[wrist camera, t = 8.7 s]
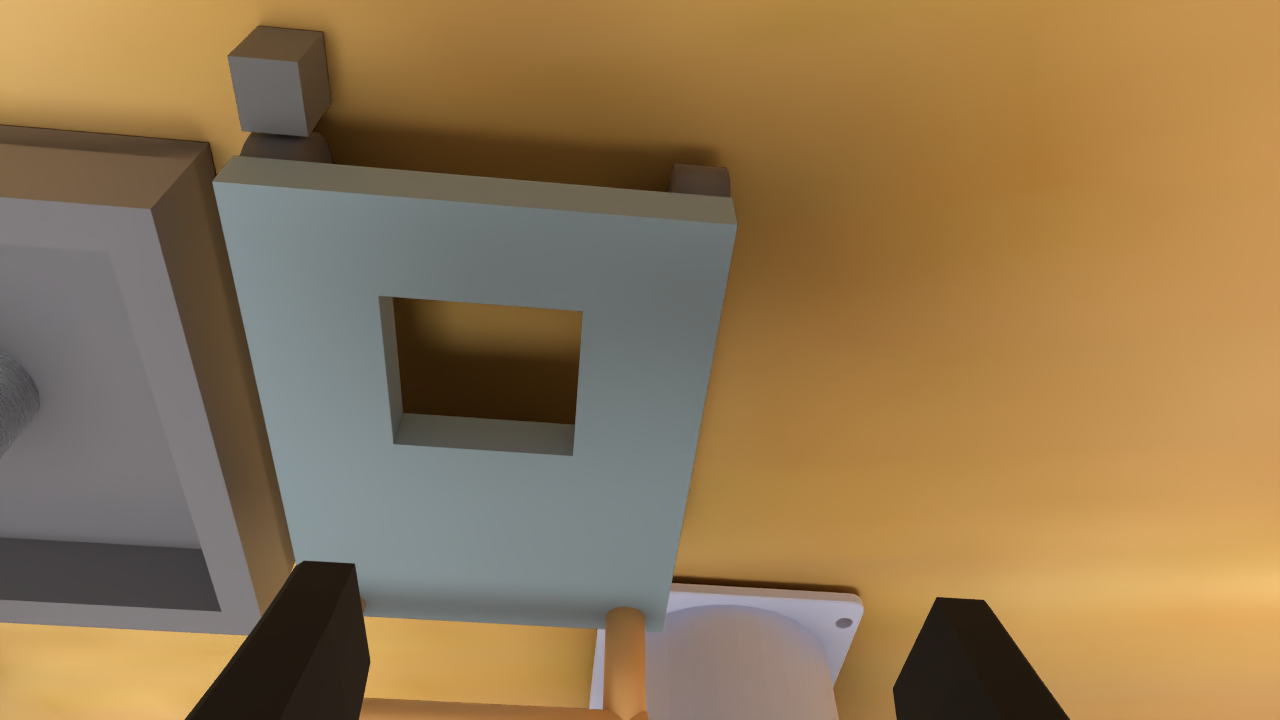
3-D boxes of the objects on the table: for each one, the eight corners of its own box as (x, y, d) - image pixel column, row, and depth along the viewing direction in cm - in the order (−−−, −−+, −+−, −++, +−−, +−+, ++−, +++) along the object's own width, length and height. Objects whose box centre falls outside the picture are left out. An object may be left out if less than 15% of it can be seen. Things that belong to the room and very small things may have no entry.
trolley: (659, 531, 26) (666, 768, 20) (338, 511, 25) (255, 749, 20) (734, 70, 17) (779, 261, 12) (258, 25, 17) (75, 204, 11)
